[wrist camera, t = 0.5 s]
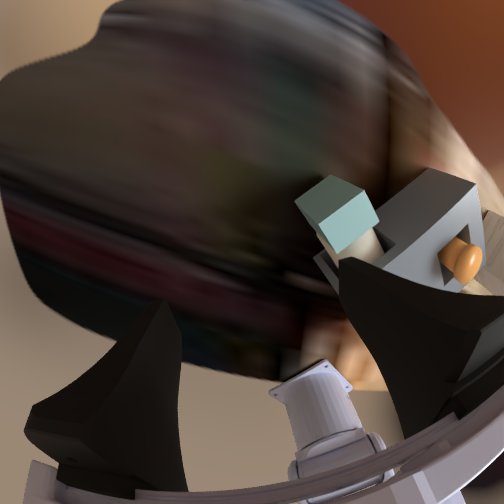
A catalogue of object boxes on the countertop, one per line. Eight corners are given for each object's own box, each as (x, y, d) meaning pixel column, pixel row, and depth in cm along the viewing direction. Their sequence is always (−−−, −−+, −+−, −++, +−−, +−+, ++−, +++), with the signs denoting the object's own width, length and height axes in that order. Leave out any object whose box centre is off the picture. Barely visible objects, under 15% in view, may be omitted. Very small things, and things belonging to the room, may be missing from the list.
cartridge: (387, 279, 24) (416, 309, 19) (357, 302, 24) (381, 336, 20) (332, 173, 19) (366, 188, 14) (291, 202, 19) (315, 226, 15)
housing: (449, 238, 24) (485, 263, 18) (353, 317, 26) (379, 357, 20) (428, 167, 20) (476, 183, 14) (312, 257, 22) (341, 298, 17)
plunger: (454, 246, 19) (483, 267, 16) (431, 268, 20) (459, 291, 16) (448, 220, 18) (481, 239, 14) (424, 241, 19) (456, 264, 15)
